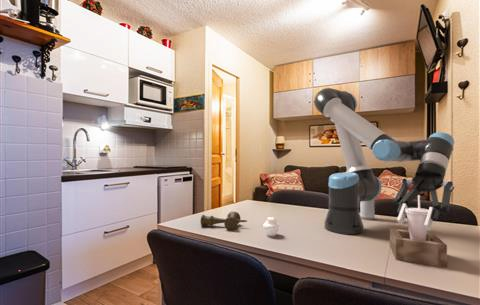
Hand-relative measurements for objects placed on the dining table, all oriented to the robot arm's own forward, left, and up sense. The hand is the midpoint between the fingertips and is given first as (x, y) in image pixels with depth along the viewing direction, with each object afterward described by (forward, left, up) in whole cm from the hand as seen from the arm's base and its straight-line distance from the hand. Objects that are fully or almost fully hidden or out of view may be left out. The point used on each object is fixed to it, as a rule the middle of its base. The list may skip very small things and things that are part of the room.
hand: (412, 225), depth 73 cm
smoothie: (+2, +3, -6) cm, 7 cm away
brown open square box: (+1, +3, -10) cm, 11 cm away
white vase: (-45, +3, -10) cm, 46 cm away
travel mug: (-10, +49, -10) cm, 51 cm away
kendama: (-66, +5, -11) cm, 67 cm away
